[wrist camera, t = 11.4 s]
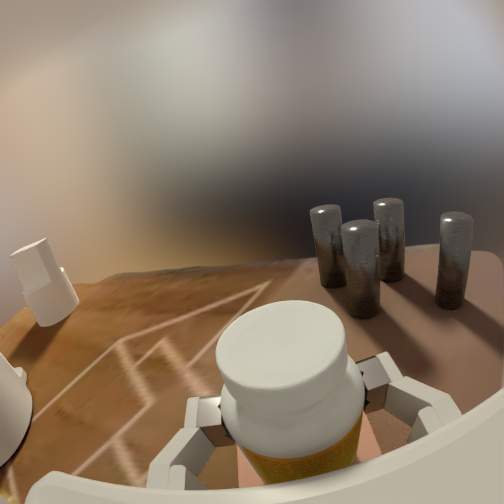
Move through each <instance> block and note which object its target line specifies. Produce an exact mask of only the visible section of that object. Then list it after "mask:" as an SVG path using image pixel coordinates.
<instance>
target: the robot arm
mask: <svg viewBox="0 0 504 504" xmlns="http://www.w3.org/2000/svg"><path fill="white" fill-rule="evenodd" d="M355 363H356V365H357V366H358V368H359V370H360V372H361V374H362V378H363V381H364V387H365V399H364V408H363V410H364V413H365V414H368V413H371V412H374V411H377V410H380V409H383V408H384V410H386V411H387V412H389V413H391V414H392V415H394V416H395V417H397V418H398V419H400V420H401V421H403V422H404V423H406V424H408V425H409V426H411V427H412V430H411V432H410V434H409V437H408V439H407V442H408V444H407V445H405V446H403V447H400V448H398V449H396V450H393V451H391V452H388V453H386V454H383V455H381V456H378V457H375V458H373V459H370V460H367V461H364V462H361V463H358V464H355V465H352V466H349V467H346V468H342V469H339V470H335V471H332V472H328V473H324V474H320V475H316V476H312V477H308V478H303V479H298V480H293V481H288V482H282V483H276V484H270V485H263V486H255V487H246V488H235V489H220V490H208V486H207V485H206V484H204V483H203V482H202V481H201V480H200V479H198V478H197V477H198V476H199V474H200V473H201V471H202V469H203V468H204V466H205V465H206V463H207V462H208V460H209V458H210V457H211V455H212V454H213V452H214V450H215V449H216V448H215V447H222V446H230V445H235V440H234V439H233V437H232V436H231V434H230V433H229V431H228V429H227V427H226V425H225V423H224V421H223V418H222V414H221V408H220V399H221V394H220V395H211V396H202V397H193V398H189V399H188V401H187V407H186V415H185V423H184V428H183V429H180V430H179V431H178V433H177V434H176V435H175V436H174V437H173V438H172V440H171V441H170V442H169V443H168V444H167V445H166V446H165V448H164V449H163V450H162V451H161V452H160V453H159V454H158V455H157V457H156V458H155V459H154V460H153V461H152V462H151V463H150V467H149V473H148V480H147V487H146V488H141V487H132V486H124V485H118V484H111V483H106V482H100V481H95V480H90V479H86V478H81V477H77V476H73V475H69V474H66V473H62V472H59V471H52V472H50V473H48V474H47V475H45V476H44V477H43V478H41V479H40V480H39V481H37V482H36V483H35V484H34V485H33V486H32V487H31V489H30V491H29V493H28V495H27V498H26V501H25V503H24V504H504V387H503V388H502V389H501V390H499V391H498V392H497V393H495V394H494V395H493V396H491V397H490V398H488V399H487V400H485V401H484V402H483V403H481V404H480V405H478V406H477V407H475V408H474V409H472V410H470V411H469V412H467V413H466V414H464V415H462V414H461V412H460V411H459V409H458V407H457V406H456V404H455V403H454V401H453V400H452V398H451V397H450V395H449V394H446V393H444V392H442V391H439V390H437V389H435V388H432V387H430V386H428V385H425V384H423V383H421V382H419V381H416V380H414V379H412V378H410V377H407V376H405V377H403V376H402V374H401V372H400V371H399V369H398V368H397V366H396V364H395V363H394V361H393V360H392V358H391V356H390V355H389V353H388V352H384V353H381V354H378V355H376V356H372V357H369V358H366V359H364V360H361V361H358V362H355ZM26 380H27V374H26V372H25V371H24V370H23V369H22V368H21V367H17V368H13V367H12V366H11V365H10V364H9V362H8V361H7V360H6V359H5V357H4V356H3V355H2V354H1V352H0V466H1V465H3V464H4V463H5V462H6V461H7V460H8V459H9V458H10V457H11V456H12V454H13V453H14V452H15V451H16V449H17V448H18V446H19V444H20V443H21V441H22V439H23V437H24V435H25V433H26V430H27V428H28V425H29V422H30V418H31V413H32V397H31V394H30V392H29V390H28V388H27V386H26Z"/></svg>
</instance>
